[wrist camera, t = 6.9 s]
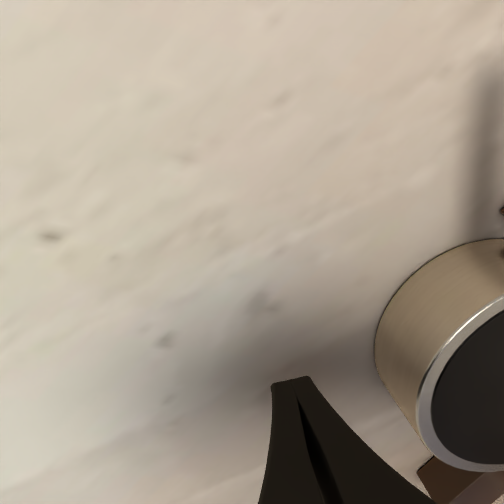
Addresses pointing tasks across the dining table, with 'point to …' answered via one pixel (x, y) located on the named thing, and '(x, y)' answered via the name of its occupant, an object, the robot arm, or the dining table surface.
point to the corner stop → (460, 482)
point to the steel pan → (450, 355)
